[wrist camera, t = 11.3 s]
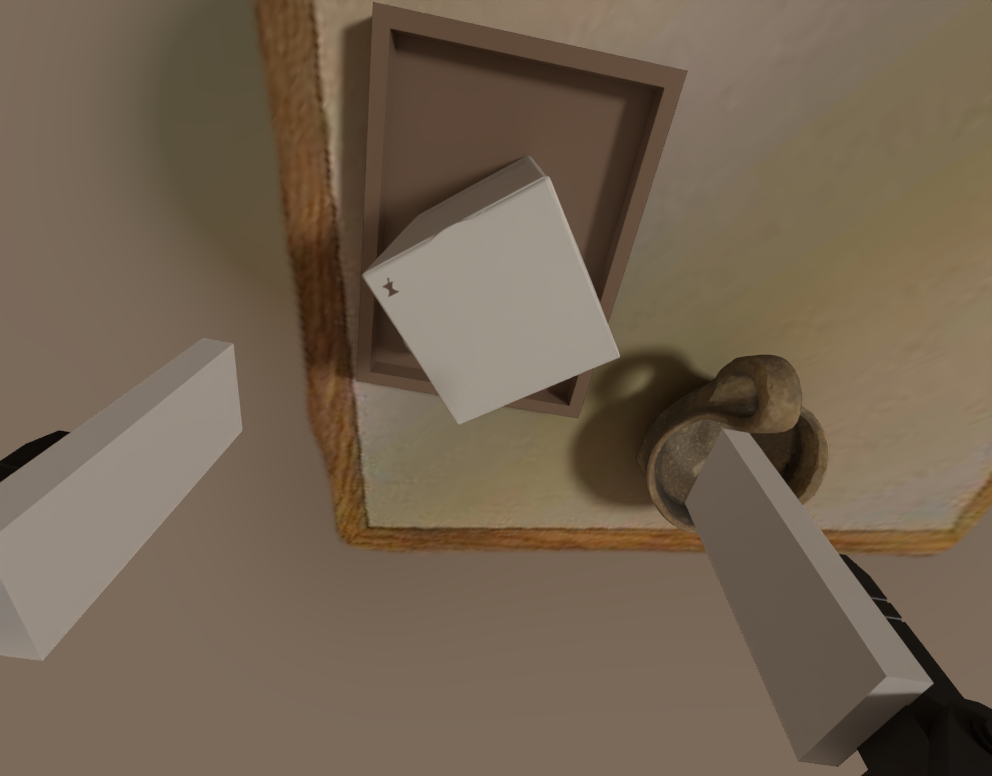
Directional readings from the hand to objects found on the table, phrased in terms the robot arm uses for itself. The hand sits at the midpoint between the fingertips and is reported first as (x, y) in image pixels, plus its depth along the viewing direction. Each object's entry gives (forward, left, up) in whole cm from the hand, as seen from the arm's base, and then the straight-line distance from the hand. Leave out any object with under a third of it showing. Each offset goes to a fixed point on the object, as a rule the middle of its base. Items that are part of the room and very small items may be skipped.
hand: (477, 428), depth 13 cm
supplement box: (0, 0, -24) cm, 24 cm away
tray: (0, 0, -25) cm, 25 cm away
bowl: (+11, +21, -25) cm, 34 cm away
